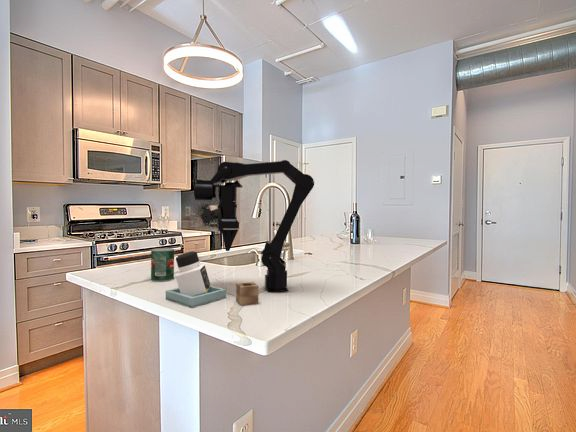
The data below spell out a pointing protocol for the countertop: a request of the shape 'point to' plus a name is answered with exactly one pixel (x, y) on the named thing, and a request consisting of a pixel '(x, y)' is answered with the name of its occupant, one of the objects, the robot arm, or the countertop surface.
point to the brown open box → (247, 293)
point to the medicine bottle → (191, 275)
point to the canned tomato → (162, 264)
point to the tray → (196, 297)
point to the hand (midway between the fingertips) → (226, 249)
